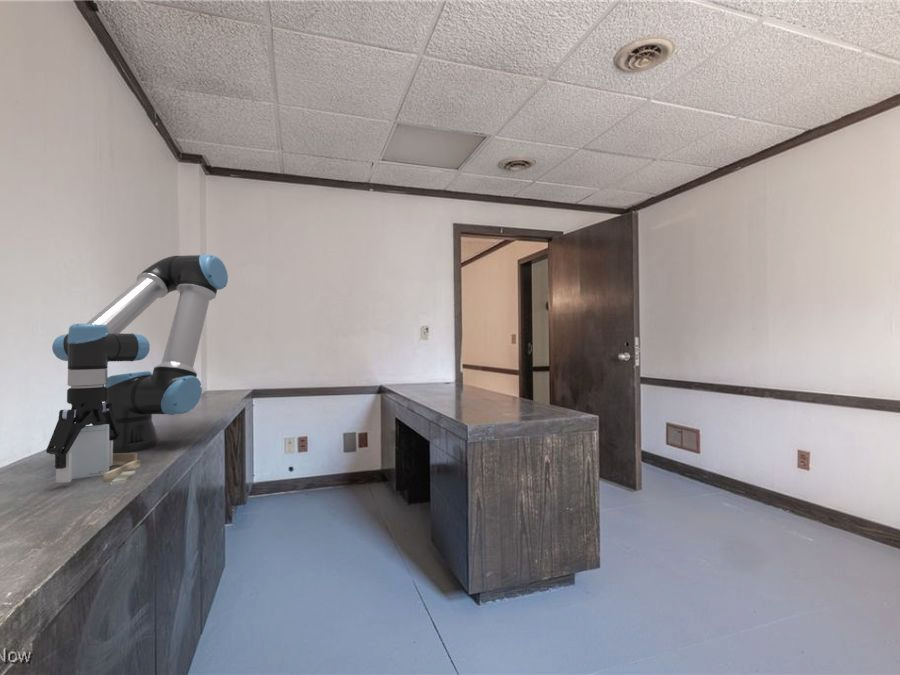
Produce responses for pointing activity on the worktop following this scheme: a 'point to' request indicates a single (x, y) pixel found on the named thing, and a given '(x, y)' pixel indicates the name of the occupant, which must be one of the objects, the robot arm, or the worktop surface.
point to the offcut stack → (123, 477)
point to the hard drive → (90, 452)
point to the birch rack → (123, 459)
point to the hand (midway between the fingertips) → (86, 473)
